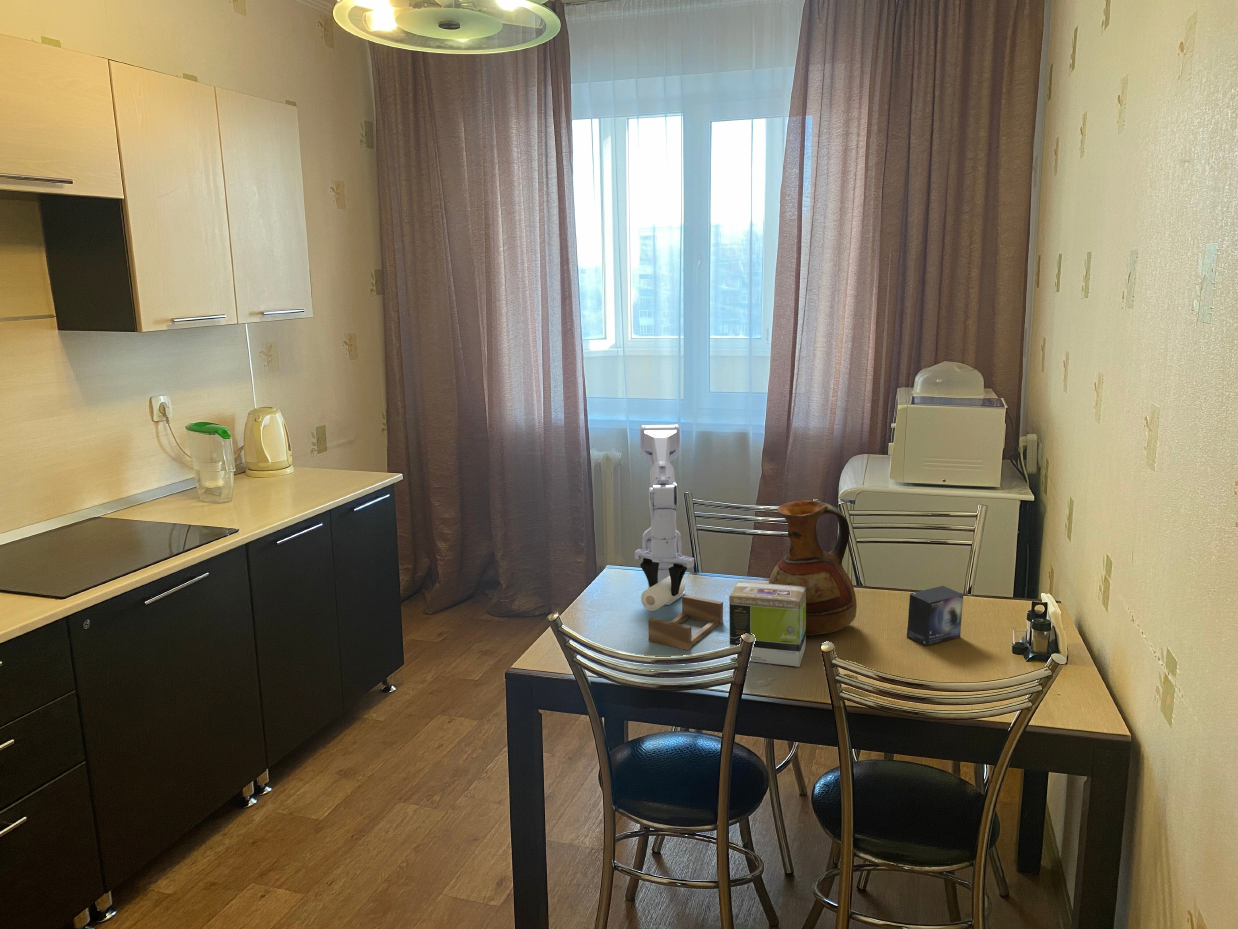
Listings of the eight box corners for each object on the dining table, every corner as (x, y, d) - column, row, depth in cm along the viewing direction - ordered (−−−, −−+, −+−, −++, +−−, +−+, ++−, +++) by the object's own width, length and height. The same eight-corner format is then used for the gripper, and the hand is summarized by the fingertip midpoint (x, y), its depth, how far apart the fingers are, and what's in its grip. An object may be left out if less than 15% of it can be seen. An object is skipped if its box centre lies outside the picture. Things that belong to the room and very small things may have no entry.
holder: (685, 614, 217) (684, 594, 216) (722, 622, 212) (723, 601, 211) (648, 641, 202) (648, 620, 201) (688, 650, 197) (688, 628, 196)
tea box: (806, 649, 196) (807, 585, 193) (799, 669, 187) (801, 601, 184) (737, 641, 201) (738, 578, 198) (728, 660, 192) (728, 594, 189)
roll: (672, 596, 214) (663, 577, 214) (689, 591, 211) (680, 571, 212) (646, 613, 204) (637, 593, 204) (663, 607, 201) (654, 587, 201)
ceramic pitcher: (754, 615, 216) (756, 494, 209) (832, 607, 220) (836, 488, 213) (786, 648, 197) (788, 516, 190) (871, 638, 201) (876, 509, 194)
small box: (927, 647, 196) (930, 602, 193) (905, 637, 201) (907, 593, 199) (962, 638, 200) (965, 593, 198) (939, 628, 206) (942, 584, 204)
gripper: (627, 536, 206) (628, 592, 208) (683, 545, 198) (684, 603, 201) (643, 528, 211) (644, 583, 214) (698, 537, 204) (698, 593, 207)
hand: (664, 592), depth 208 cm, fingers closed on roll, 5 cm apart
